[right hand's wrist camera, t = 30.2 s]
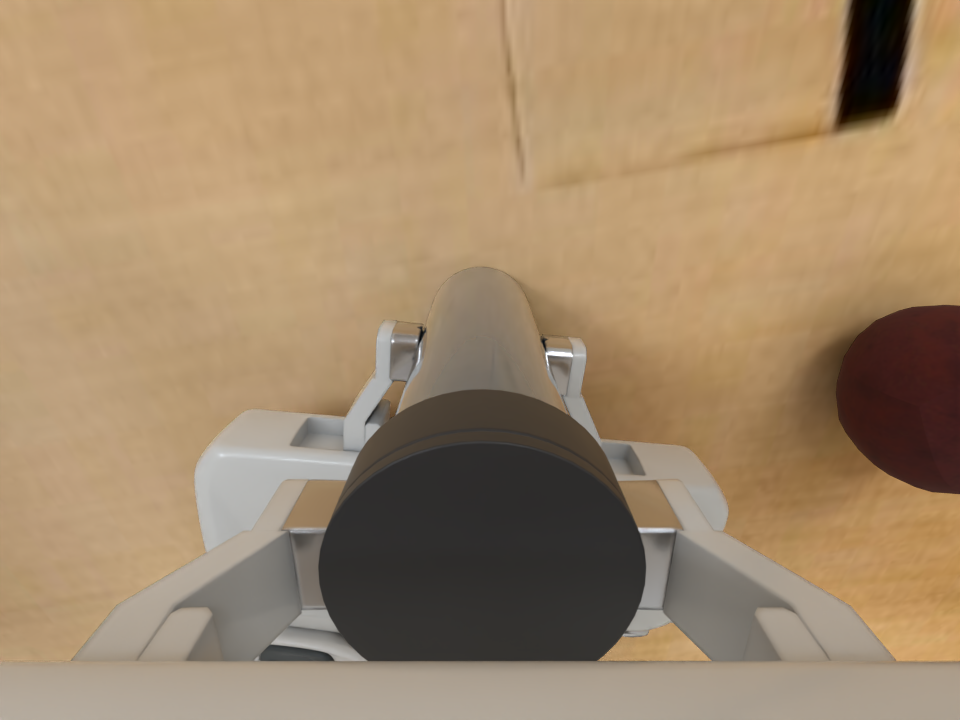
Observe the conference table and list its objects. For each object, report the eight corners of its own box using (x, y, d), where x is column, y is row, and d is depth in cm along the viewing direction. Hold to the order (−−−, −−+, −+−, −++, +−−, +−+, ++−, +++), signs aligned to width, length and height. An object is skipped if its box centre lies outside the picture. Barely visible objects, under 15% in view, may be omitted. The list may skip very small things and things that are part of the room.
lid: (481, 649, 12) (481, 739, 10) (290, 510, 10) (250, 584, 8) (672, 510, 10) (713, 584, 8) (482, 328, 9) (482, 370, 7)
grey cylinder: (412, 320, 24) (312, 549, 10) (475, 245, 22) (467, 382, 8) (485, 378, 25) (492, 663, 11) (549, 310, 23) (655, 529, 9)
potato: (839, 460, 26) (959, 560, 20) (772, 347, 24) (882, 416, 17) (984, 381, 25) (1168, 460, 18) (927, 251, 22) (1113, 288, 16)
